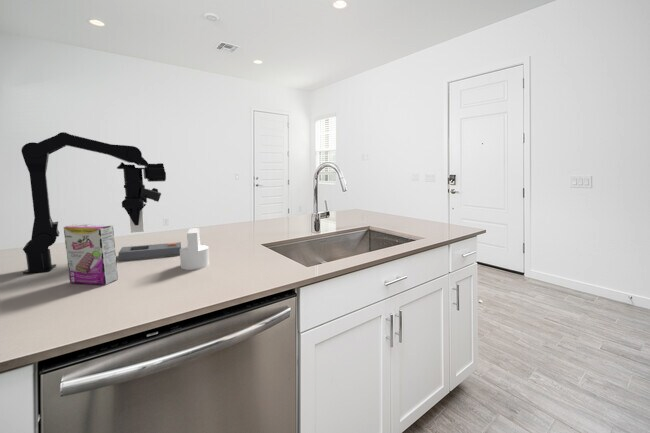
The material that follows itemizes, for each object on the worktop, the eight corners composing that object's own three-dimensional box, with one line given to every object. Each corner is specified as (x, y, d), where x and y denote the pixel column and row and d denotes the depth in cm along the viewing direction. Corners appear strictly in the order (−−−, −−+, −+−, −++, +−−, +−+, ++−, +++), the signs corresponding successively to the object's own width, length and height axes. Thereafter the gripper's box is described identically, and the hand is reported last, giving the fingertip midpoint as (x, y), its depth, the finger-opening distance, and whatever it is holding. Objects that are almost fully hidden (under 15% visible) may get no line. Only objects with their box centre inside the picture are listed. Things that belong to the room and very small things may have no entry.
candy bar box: (68, 284, 87) (61, 226, 85) (84, 278, 92) (78, 223, 89) (105, 285, 86) (99, 227, 83) (119, 279, 91) (114, 224, 88)
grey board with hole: (198, 253, 120) (197, 243, 120) (119, 261, 109) (118, 250, 109) (197, 247, 128) (196, 238, 128) (123, 254, 117) (122, 245, 117)
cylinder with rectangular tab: (182, 262, 108) (180, 228, 106) (210, 260, 110) (208, 227, 109) (178, 270, 99) (176, 233, 97) (208, 268, 102) (206, 232, 100)
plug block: (143, 231, 114) (142, 209, 113) (131, 232, 112) (129, 209, 111) (144, 229, 117) (142, 208, 116) (132, 230, 116) (130, 208, 114)
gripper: (157, 182, 107) (161, 226, 109) (159, 180, 124) (162, 219, 126) (119, 182, 102) (123, 229, 105) (127, 181, 119) (130, 221, 121)
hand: (137, 224), depth 114 cm, fingers closed on plug block, 4 cm apart
